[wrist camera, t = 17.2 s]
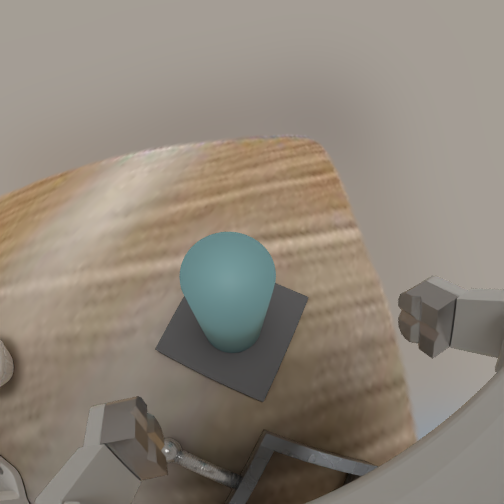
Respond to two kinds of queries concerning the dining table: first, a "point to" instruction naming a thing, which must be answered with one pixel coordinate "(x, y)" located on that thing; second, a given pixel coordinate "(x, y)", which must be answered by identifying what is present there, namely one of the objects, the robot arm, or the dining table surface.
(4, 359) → the muffin
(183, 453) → the socket
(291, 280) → the dining table surface
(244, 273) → the teal peg
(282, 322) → the rubber mat
